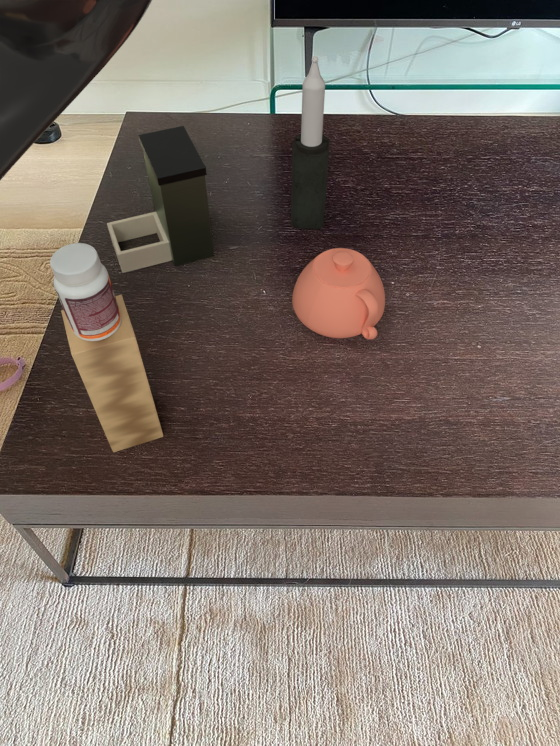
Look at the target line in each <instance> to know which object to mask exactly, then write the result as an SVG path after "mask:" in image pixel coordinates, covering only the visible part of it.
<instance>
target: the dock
mask: <svg viewBox="0 0 560 746" xmlns="http://www.w3.org/2000/svg"><path fill="white" fill-rule="evenodd" d="M106 226H107V229H108V234H109V236H110V240H111V243H112V246H113V249H114V252H115V255H116V259H117V261H118V264H119V267H120V270H121V273H122V274H124V273H129V272H133V271H136V270H141V269H144V268H148V267H153V266H157V265H160V264H164V263H168V262H171V261H172V257H171V251H170V246H169V241H168V239H167V237H166V234H165V232H164V229H163V227H162V225H161V222H160V220H159V218H158V215H157V213H156V212H155V211H151V212H148V213H144V214H139V215H135V216H131V217H127V218H123V219H118V220H114V221H110V222H107V223H106ZM155 234H156V236H157V237H158V239H159V241H158V242H154V243H150V244H149V243H148V244H144V245H141V246H137V247H133V248H129V249H125V250H121V248H120V245H119V243H121V242H125V241H130V240H134V239H138V238H142V237H146V236H150V235H151V236H152V235H155ZM172 262H173V261H172Z"/></svg>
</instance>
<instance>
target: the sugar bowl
mask: <svg viewBox="0 0 560 746" xmlns="http://www.w3.org/2000/svg"><path fill="white" fill-rule="evenodd" d="M291 300H292V301H291V302H292V303H291V304H292V309H293V311H294V313H295V315H296V317H297V318H298V320H299V321H300V322H301V324H303V325H304V326H305V327H306V328H307V329H309V330H310V331H312V332H313V333H316V334H318V335H320V336H323V337H327V338H331V339H349V338H353V337H357V336H359V335H362V337H364V339H366V340H374V339H376V338H377V336H378V330H377V328H376V327H375V326H376V325H377V324H378V322H379V321H380V320H381V319H382V317H383V316H384V312H385V308H386V307H385V306H386V293H385V287H384V283H383V281H382V279H381V276H380V275H379V273H378V271H377V269H376V268H375V267H374V265H373V264H372V263H371V262H370V260H369V259H368V258H367V257H366V256H365V255H364V254H362V253H361V252H359V251H357V250H354V249H351V248H347V247H346V248H344V247H335V248H331V249H327V250H325V251H323V252H321V253H319V254H318V255H317V256H315V257H314V258H313V259H311V261H310V262H308V264H307V265H306V266H305V267H304V268H303V270H301V272H300V274H299V275H298V277H297V279H296V282H295V284H294V287H293V291H292V299H291Z"/></svg>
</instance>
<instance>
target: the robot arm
mask: <svg viewBox="0 0 560 746" xmlns="http://www.w3.org/2000/svg"><path fill="white" fill-rule="evenodd" d="M152 2H153V0H0V181H2V180H3V178H4V177H5V176H6V175H7V174H8V172H9V171H10V170H11V169H12V168H13V167H14V166H15V164H16V163H17V162H18V161H19V160H20V159H21V158H22V157H23V156H24V155H25V154H26V152H27V151H28V150H29V149H30V148H31V147H32V146H33V145H34V144H35V143H36V141H38V140H39V138H40V137H41V136H42V135H43V134H44V133H45V132H46V131H47V130H48V129H49V127H50V126H52V124H53V123H54V122H56V120H57V119H58V118H60V115H62V113H63V112H65V110H66V109H67V108H68V107H69V106H70V105H71V104H72V103H73V102H74V100H76V98H78V96H80V94H81V93H82V92H83V91H84V90H85V88H87V87H88V85H90V84H91V82H92V81H93V80H94V79H95V78H96V77H97V75H99V74H100V73H101V71H102V70H103V69H104V68H105V67H106V66H107V65H108V64H109V63H110V61H111V59H112V58H113V57H114V56H115V55H116V53H117V52H118V51H119V50H120V49H121V47H122V46H123V45H124V44H125V43H126V41H127V40H128V39H129V38H130V36H131V35H132V34H133V32H134V31H135V30H136V28H137V27H138V25H139V23H140V22H141V20H142V19H143V17H144V16H145V14H146V12H147V11H148V9H149V7H150V5H152Z"/></svg>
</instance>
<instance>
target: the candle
mask: <svg viewBox="0 0 560 746" xmlns="http://www.w3.org/2000/svg"><path fill="white" fill-rule="evenodd" d="M318 62H319V57H318V56H317V55H313V56H312V57H311V64H310V67H309V70H308V74H307V76H306V77H304V80H303V81H302V89H301V91H302V93H301V119H300V120H301V121H300V133H299V134H297V135H296V136H295V137H294V138H293V142H292V149H291V187H290V188H291V191H290V193H291V194H290V197H291V198H290V225H291V227H293V228H296V229H305V230H320V229H322V228H323V227H324V224H325V213H326V199H327V188H328V187H327V186H328V174H329V173H328V172H329V158H330V146H331V145H330V144H331V141H330V138H329V137H328V136H326V135H325V134H323V131H324V130H323V129H324V112H325V97H326V96H325V95H326V82H325V80H324V78H323V77H322V76H323V75H321V70H320V67H319V64H318Z"/></svg>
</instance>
